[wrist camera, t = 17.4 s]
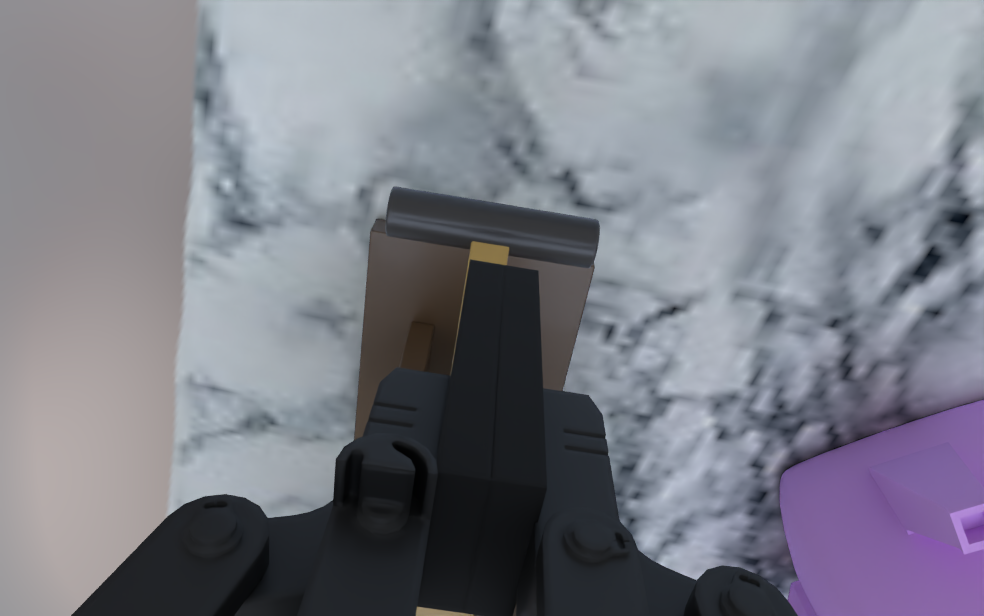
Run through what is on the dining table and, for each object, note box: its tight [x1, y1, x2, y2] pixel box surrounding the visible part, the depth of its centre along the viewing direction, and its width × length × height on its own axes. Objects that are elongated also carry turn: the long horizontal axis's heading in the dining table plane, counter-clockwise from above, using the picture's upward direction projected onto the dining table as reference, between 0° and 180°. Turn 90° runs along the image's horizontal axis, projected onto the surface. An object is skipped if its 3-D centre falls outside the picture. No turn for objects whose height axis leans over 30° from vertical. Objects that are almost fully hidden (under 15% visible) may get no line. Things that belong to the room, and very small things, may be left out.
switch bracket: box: [354, 219, 595, 616], centre depth 25 cm, size 12×9×15 cm
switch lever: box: [385, 187, 600, 616], centre depth 20 cm, size 13×6×2 cm, turn 170°
